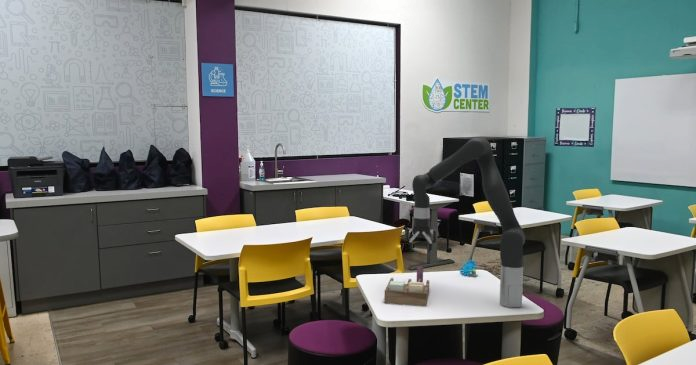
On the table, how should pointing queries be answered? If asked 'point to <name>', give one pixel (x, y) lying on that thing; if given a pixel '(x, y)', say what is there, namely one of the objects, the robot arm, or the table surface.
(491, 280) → the table surface
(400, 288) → the sage block
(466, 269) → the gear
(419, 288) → the purple handled mallet
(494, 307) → the table surface
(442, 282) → the table surface
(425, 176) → the robot arm
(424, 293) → the wooden tray
